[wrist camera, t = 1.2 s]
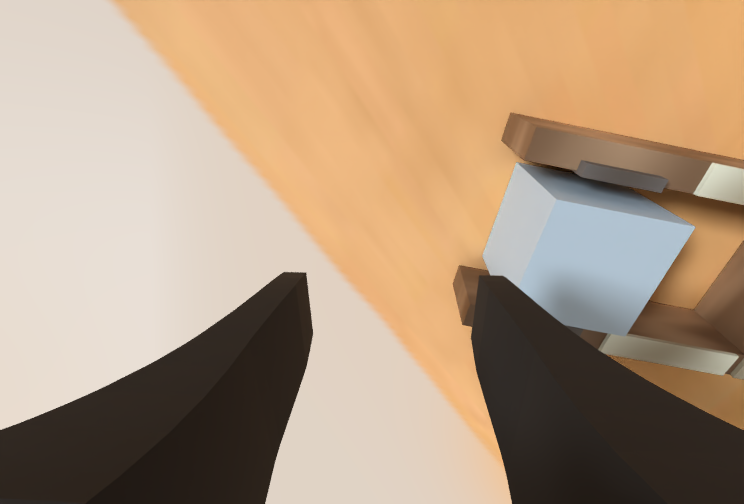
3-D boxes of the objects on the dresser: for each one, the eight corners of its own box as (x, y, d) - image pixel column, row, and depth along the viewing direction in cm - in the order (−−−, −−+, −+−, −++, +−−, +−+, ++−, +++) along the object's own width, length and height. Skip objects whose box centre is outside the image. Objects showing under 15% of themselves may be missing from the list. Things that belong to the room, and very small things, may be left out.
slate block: (621, 183, 18) (695, 226, 13) (575, 273, 20) (625, 336, 16) (516, 162, 18) (556, 199, 13) (482, 256, 20) (506, 314, 15)
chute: (819, 175, 17) (930, 208, 13) (702, 331, 21) (762, 386, 18) (510, 112, 17) (541, 129, 13) (452, 284, 21) (464, 331, 17)
